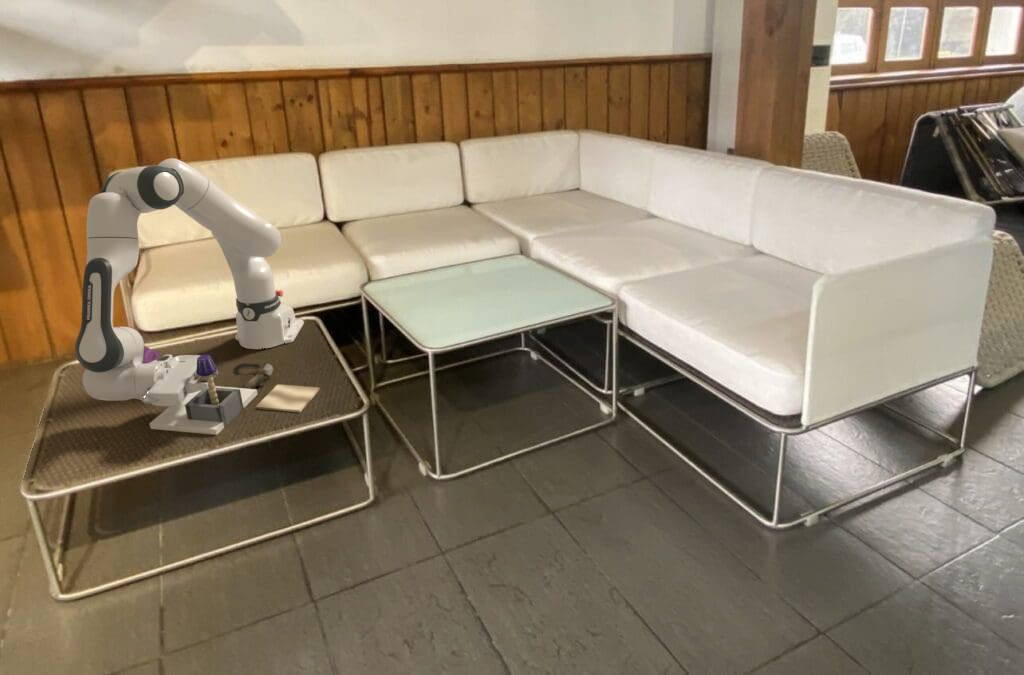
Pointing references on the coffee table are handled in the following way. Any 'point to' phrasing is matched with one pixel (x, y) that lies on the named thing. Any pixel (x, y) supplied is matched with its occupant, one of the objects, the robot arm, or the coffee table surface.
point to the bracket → (150, 355)
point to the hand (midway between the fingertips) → (212, 379)
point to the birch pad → (288, 398)
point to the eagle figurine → (253, 373)
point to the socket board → (204, 411)
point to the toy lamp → (208, 375)
